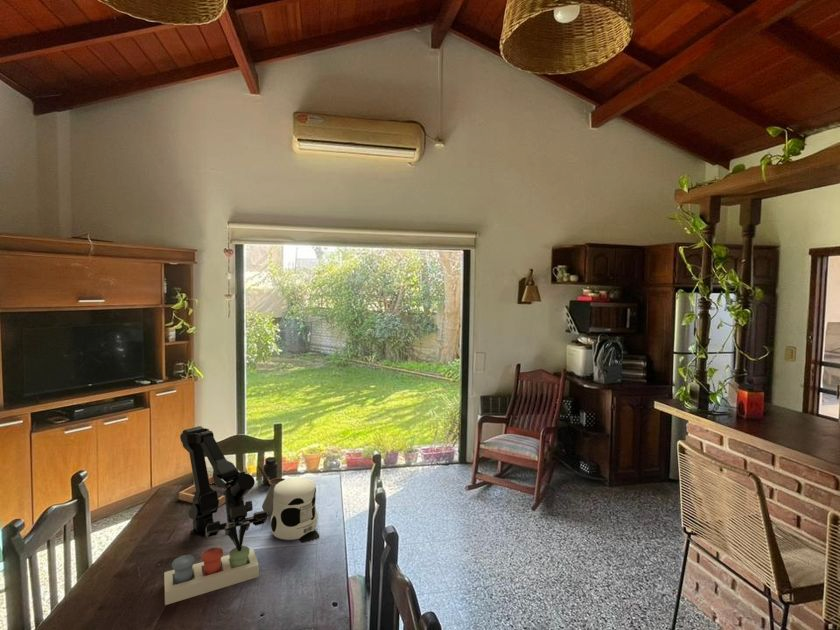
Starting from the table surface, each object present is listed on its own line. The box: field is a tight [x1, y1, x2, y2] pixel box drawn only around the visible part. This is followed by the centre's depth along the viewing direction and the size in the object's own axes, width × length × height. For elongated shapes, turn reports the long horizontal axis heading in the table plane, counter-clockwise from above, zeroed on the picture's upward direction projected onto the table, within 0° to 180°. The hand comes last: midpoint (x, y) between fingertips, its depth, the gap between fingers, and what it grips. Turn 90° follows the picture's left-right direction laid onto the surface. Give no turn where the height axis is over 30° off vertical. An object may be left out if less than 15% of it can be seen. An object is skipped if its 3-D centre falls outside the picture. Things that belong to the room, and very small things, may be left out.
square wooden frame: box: [178, 474, 230, 508], centre depth 192 cm, size 20×19×3 cm
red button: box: [201, 547, 224, 576], centre depth 136 cm, size 6×6×6 cm
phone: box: [298, 529, 320, 544], centre depth 166 cm, size 7×1×15 cm
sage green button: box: [229, 545, 250, 569], centre depth 140 cm, size 6×6×6 cm
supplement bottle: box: [262, 456, 279, 487], centre depth 204 cm, size 7×7×12 cm
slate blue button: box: [171, 554, 196, 584], centre depth 132 cm, size 6×6×6 cm
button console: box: [163, 548, 260, 606], centre depth 136 cm, size 10×26×4 cm, turn 121°
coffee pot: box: [255, 465, 286, 517], centre depth 182 cm, size 21×12×15 cm, turn 49°
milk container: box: [270, 477, 319, 542], centre depth 164 cm, size 17×17×18 cm
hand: (239, 550), depth 140 cm, fingers closed, pressing on sage green button
